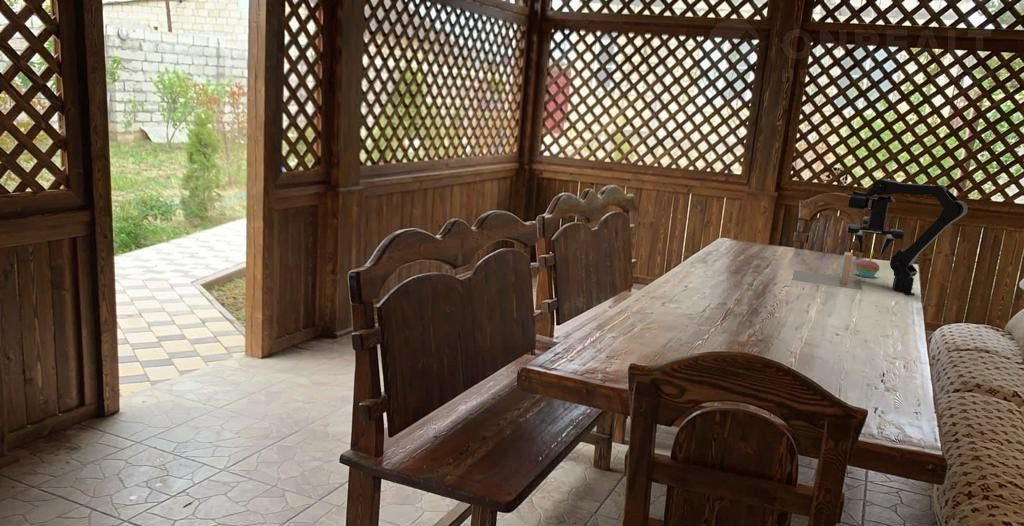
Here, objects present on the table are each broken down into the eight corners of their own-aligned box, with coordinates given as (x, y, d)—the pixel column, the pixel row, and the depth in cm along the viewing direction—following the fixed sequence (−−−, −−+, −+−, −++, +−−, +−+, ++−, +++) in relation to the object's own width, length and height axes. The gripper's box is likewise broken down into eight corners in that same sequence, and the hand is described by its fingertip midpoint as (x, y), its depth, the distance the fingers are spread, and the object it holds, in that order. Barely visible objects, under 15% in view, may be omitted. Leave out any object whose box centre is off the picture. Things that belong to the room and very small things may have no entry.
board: (859, 281, 285) (859, 279, 285) (862, 292, 267) (862, 290, 267) (793, 271, 294) (793, 269, 294) (791, 281, 276) (792, 279, 276)
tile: (846, 280, 281) (851, 252, 279) (847, 284, 275) (852, 255, 272) (839, 279, 282) (844, 251, 279) (840, 283, 276) (845, 254, 273)
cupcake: (881, 281, 288) (887, 251, 286) (859, 279, 288) (865, 249, 286) (871, 276, 297) (876, 247, 294) (850, 274, 297) (855, 245, 294)
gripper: (904, 213, 278) (896, 254, 281) (850, 207, 284) (843, 247, 288) (907, 217, 268) (899, 259, 271) (851, 210, 274) (844, 251, 278)
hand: (870, 254), depth 277 cm, fingers open, 7 cm apart
